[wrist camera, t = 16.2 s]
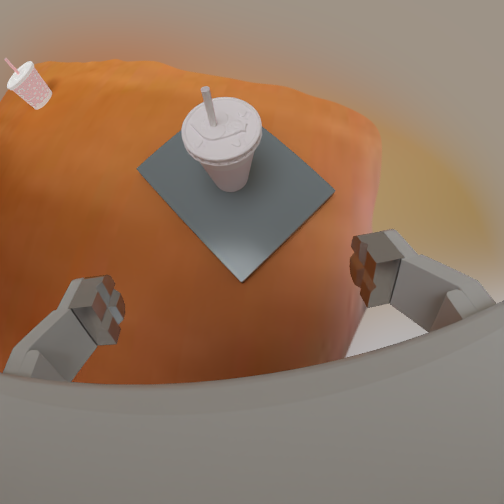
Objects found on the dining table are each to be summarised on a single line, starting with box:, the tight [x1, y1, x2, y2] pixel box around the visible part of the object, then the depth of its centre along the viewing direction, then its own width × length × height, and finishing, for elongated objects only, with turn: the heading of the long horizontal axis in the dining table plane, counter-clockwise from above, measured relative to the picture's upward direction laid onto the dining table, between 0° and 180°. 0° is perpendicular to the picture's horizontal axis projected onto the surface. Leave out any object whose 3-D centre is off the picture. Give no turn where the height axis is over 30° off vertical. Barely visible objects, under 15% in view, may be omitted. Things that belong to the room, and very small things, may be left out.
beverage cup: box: [4, 58, 52, 109], centre depth 28 cm, size 6×6×14 cm
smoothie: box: [181, 86, 262, 192], centre depth 23 cm, size 6×6×14 cm
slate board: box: [137, 127, 336, 283], centre depth 30 cm, size 18×14×2 cm
